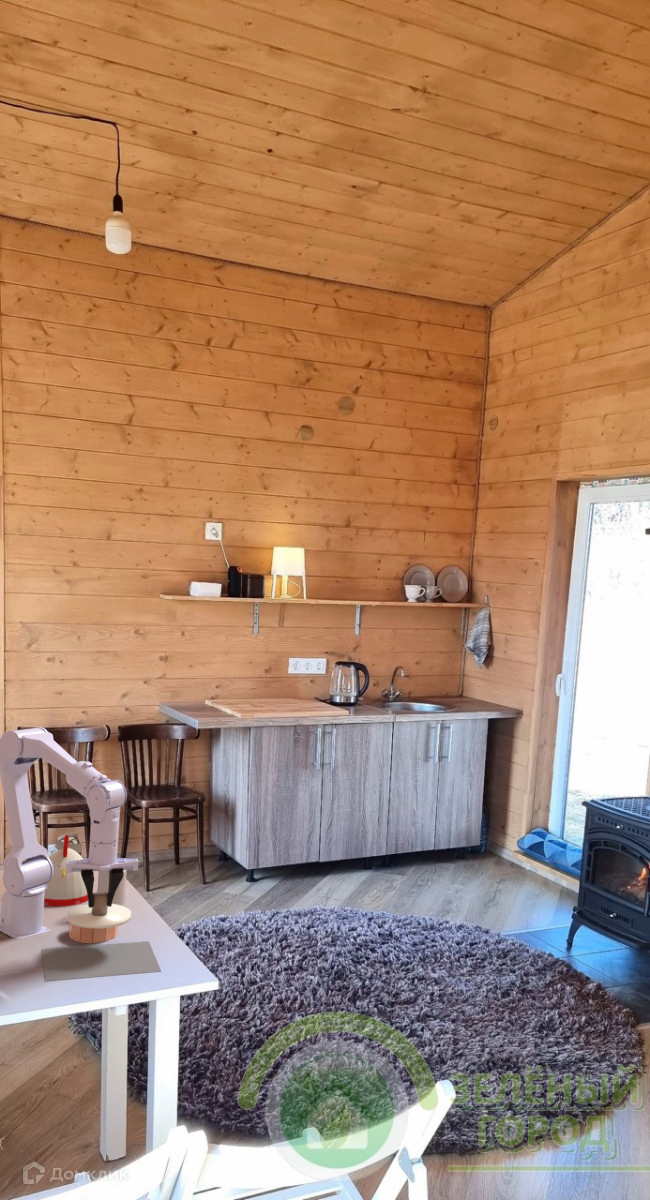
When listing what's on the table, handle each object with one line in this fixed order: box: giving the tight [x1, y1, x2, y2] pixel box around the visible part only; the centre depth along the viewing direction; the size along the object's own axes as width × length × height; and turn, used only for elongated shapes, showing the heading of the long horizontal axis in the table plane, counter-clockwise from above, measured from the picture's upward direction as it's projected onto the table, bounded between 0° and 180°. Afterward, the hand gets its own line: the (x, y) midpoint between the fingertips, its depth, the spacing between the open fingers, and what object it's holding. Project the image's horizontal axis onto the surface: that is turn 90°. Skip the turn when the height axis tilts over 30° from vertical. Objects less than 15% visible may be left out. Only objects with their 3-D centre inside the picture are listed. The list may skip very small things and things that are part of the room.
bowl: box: [68, 923, 119, 944], centre depth 193 cm, size 10×10×4 cm
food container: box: [54, 832, 83, 857], centre depth 233 cm, size 12×6×10 cm, turn 21°
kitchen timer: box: [44, 834, 88, 907], centre depth 218 cm, size 14×14×15 cm
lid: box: [66, 891, 132, 928], centre depth 184 cm, size 13×13×5 cm
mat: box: [41, 941, 162, 982], centre depth 180 cm, size 16×22×1 cm
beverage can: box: [96, 870, 128, 907], centre depth 207 cm, size 6×6×12 cm
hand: (99, 905), depth 184 cm, fingers closed on lid, 3 cm apart
